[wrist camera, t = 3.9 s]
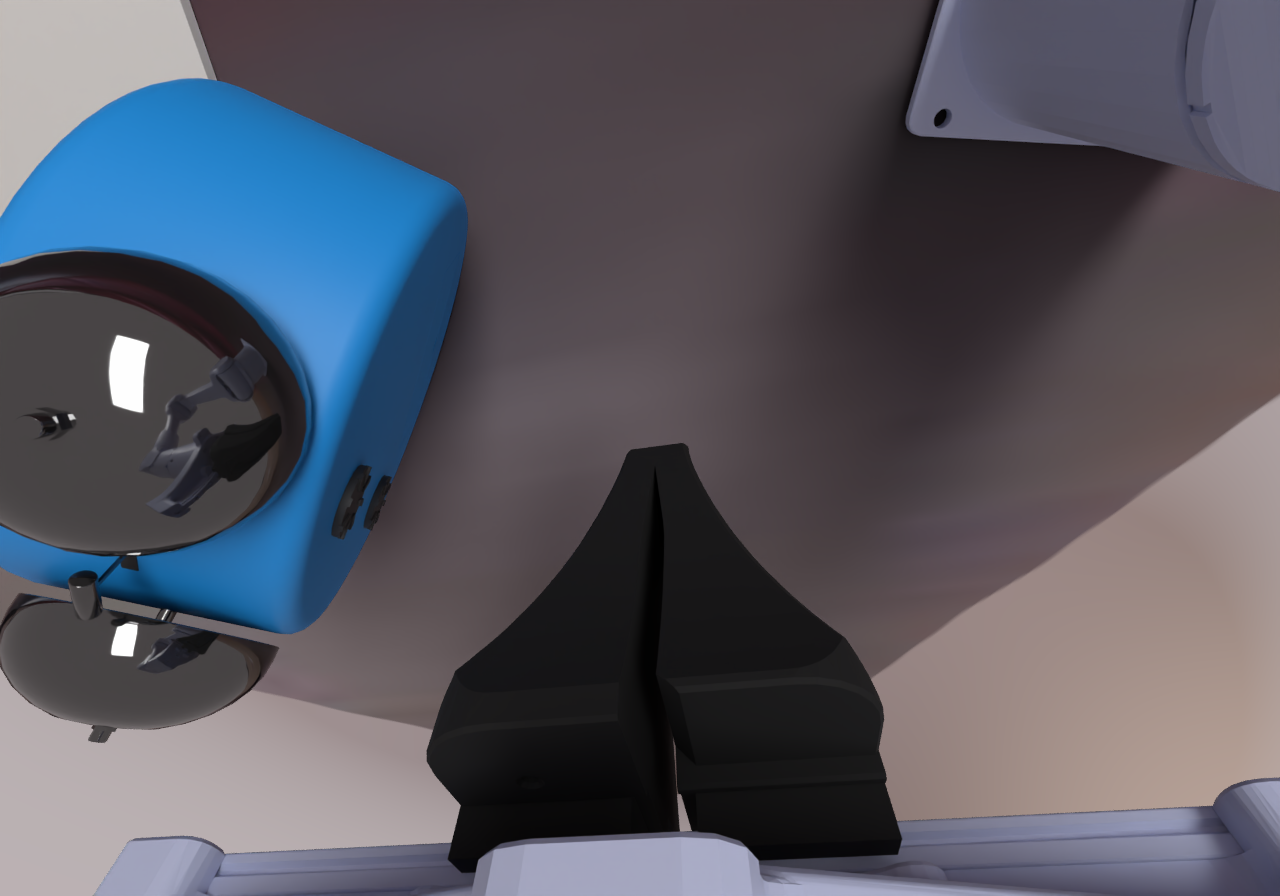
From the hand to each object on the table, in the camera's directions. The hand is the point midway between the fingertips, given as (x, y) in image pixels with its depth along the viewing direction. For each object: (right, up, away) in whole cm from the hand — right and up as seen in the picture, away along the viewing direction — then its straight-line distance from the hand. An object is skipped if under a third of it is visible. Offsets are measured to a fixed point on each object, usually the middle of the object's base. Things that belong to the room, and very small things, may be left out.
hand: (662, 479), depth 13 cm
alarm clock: (-11, +7, +8) cm, 15 cm away
